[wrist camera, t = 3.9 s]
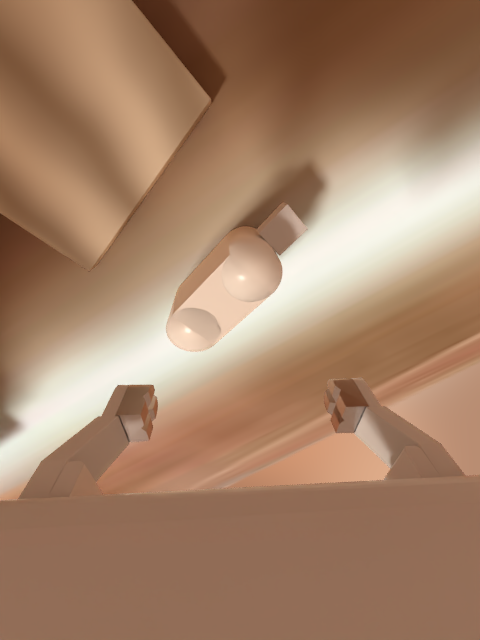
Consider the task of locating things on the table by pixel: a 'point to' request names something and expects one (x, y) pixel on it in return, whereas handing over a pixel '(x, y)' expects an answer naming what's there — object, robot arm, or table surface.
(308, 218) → the table surface
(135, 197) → the birch board
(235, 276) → the connector
